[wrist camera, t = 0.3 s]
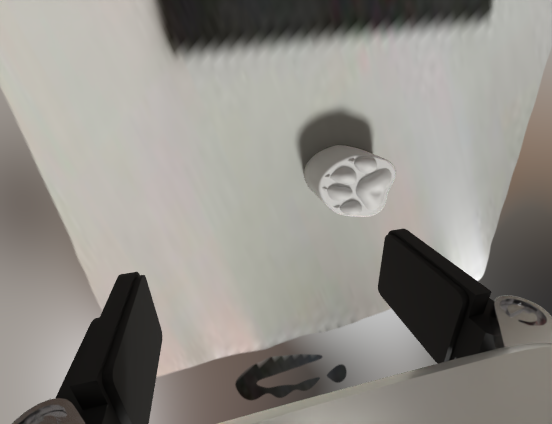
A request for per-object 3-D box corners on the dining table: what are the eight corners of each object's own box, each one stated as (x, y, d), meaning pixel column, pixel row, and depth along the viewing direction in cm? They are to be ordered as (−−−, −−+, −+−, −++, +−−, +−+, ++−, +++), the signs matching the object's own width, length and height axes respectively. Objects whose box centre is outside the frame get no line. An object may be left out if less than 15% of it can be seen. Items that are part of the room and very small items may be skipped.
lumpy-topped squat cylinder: (359, 204, 55) (385, 223, 47) (297, 196, 51) (314, 216, 43) (377, 151, 51) (408, 163, 43) (311, 139, 47) (332, 150, 40)
